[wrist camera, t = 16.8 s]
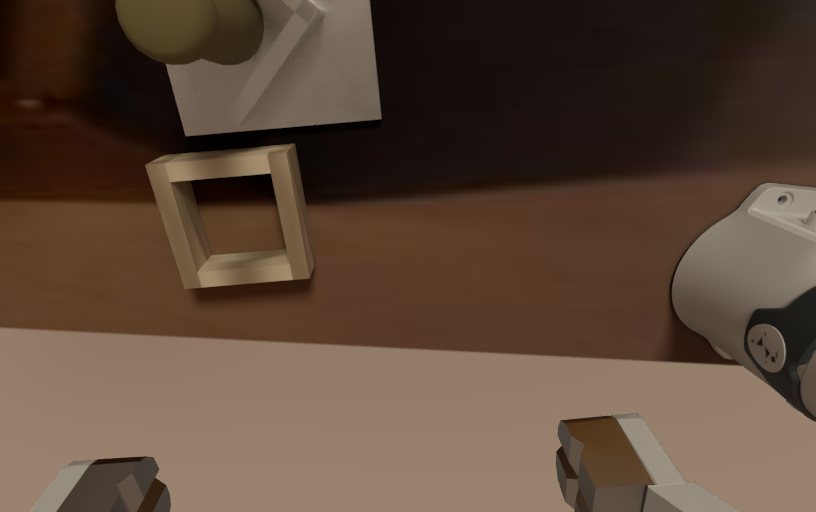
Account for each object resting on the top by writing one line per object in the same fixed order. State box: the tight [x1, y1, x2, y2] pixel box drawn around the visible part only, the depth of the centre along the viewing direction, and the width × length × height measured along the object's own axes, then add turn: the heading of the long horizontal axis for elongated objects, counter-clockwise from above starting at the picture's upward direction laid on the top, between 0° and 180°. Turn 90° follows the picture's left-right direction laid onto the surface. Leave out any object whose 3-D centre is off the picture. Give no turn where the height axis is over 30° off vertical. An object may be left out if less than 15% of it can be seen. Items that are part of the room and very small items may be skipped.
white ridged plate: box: [166, 0, 382, 136], centre depth 34 cm, size 16×16×4 cm
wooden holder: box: [145, 144, 316, 289], centre depth 40 cm, size 11×11×4 cm
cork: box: [116, 0, 264, 65], centre depth 30 cm, size 6×6×11 cm
